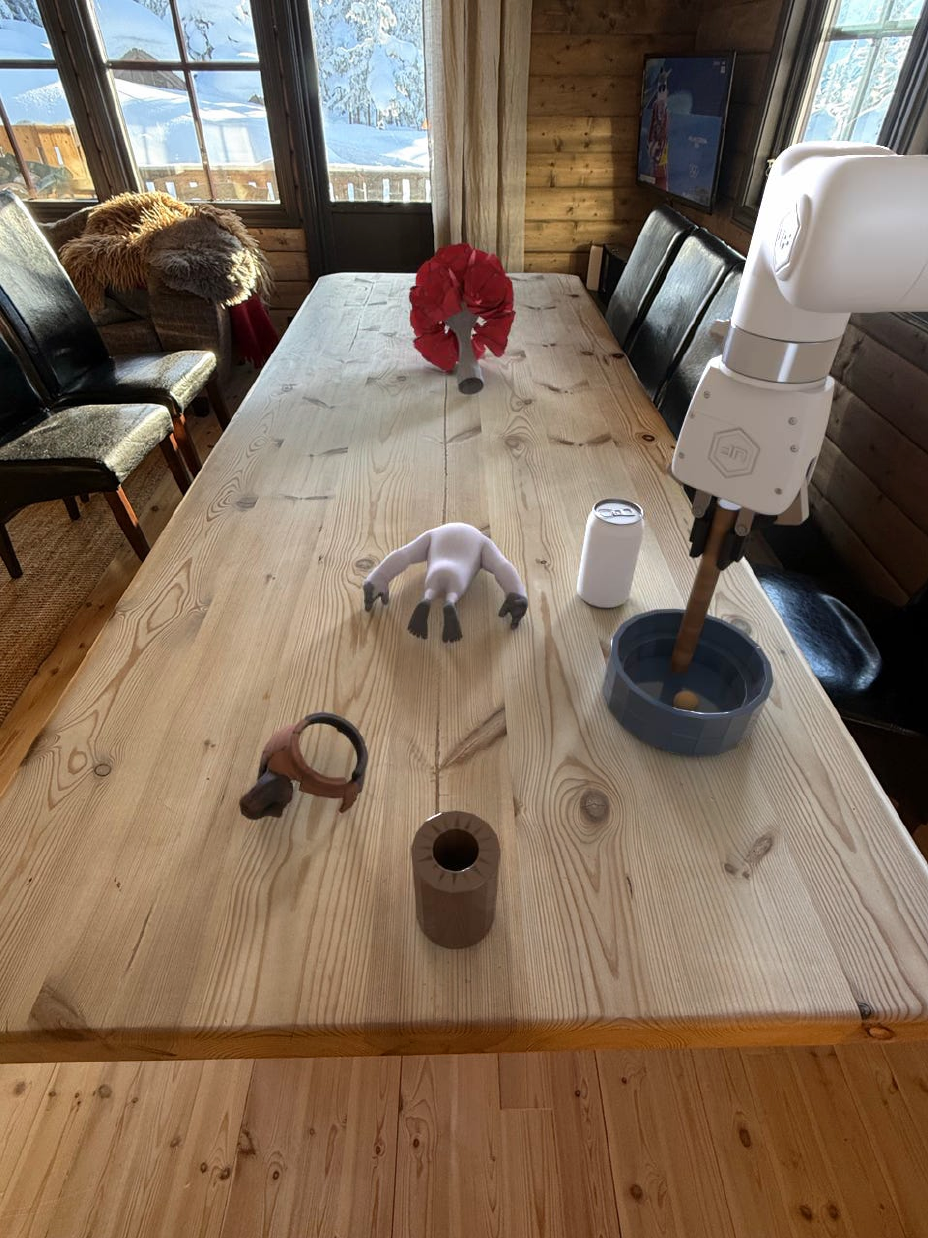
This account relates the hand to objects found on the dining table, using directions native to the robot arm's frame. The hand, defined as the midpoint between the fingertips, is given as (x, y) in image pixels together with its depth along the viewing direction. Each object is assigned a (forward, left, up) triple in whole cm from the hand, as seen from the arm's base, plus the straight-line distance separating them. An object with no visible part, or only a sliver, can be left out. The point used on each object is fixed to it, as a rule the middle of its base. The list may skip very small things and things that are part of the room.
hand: (713, 556), depth 60 cm
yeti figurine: (+9, +27, -17) cm, 33 cm away
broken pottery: (-23, +33, -17) cm, 43 cm away
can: (+13, +9, -17) cm, 23 cm away
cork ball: (-5, -1, -15) cm, 15 cm away
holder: (-30, +17, -16) cm, 38 cm away
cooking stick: (0, 0, -15) cm, 15 cm away
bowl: (-3, 0, -16) cm, 17 cm away
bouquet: (+81, +44, -17) cm, 94 cm away
